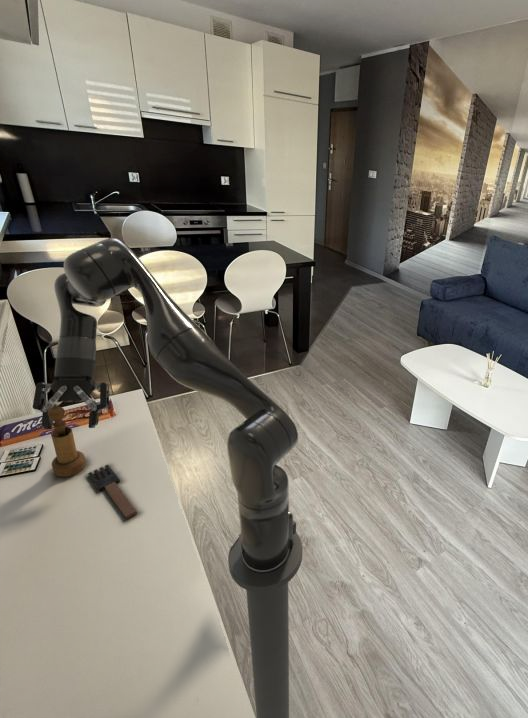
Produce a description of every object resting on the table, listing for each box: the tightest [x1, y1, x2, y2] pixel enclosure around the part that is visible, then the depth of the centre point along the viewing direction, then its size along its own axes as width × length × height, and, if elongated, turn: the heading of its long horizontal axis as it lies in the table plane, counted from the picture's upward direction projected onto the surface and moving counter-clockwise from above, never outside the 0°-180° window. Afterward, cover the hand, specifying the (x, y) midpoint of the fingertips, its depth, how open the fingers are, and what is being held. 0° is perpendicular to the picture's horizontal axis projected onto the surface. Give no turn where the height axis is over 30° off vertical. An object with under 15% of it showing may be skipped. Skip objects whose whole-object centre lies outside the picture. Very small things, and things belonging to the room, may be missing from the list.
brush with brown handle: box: [87, 464, 138, 520], centre depth 90 cm, size 19×4×1 cm, turn 49°
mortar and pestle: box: [48, 405, 87, 478], centre depth 92 cm, size 7×6×18 cm
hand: (70, 428), depth 90 cm, fingers open, 8 cm apart
